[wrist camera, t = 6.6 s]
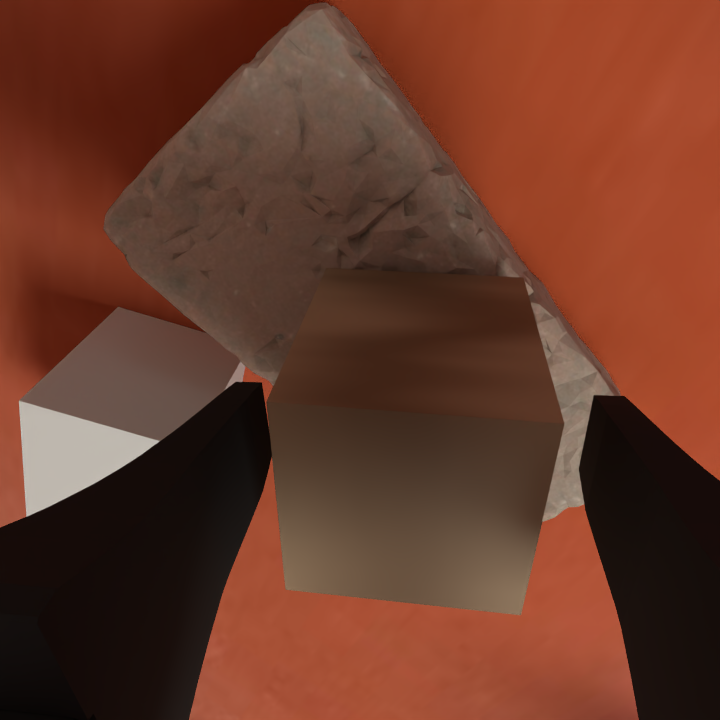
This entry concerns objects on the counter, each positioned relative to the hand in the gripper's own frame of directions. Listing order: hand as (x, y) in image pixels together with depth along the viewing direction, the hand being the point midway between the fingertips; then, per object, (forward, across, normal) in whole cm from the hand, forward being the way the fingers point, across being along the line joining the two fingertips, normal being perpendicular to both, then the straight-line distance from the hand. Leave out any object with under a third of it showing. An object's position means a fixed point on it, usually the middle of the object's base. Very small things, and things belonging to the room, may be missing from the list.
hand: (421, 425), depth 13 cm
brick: (+8, +1, +1) cm, 8 cm away
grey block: (+8, +10, +4) cm, 13 cm away
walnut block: (+4, 0, 0) cm, 4 cm away
